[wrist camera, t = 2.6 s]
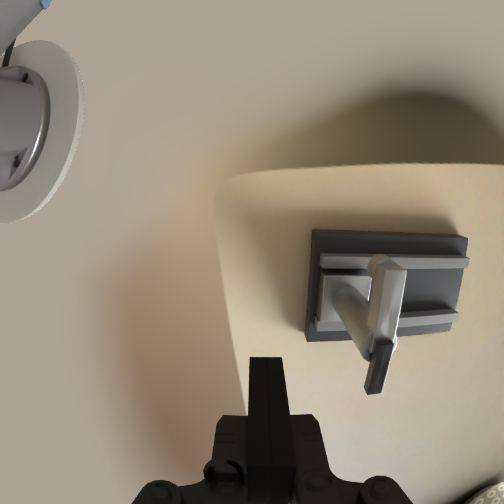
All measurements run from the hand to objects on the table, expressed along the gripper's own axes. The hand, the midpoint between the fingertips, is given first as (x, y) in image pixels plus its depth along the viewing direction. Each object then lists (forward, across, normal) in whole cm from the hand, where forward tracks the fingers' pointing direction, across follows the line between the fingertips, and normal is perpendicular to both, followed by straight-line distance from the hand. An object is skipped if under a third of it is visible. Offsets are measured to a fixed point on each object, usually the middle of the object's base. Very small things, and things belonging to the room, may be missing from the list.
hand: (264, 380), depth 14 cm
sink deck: (+14, +12, 0) cm, 18 cm away
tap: (+12, +7, +1) cm, 14 cm away
